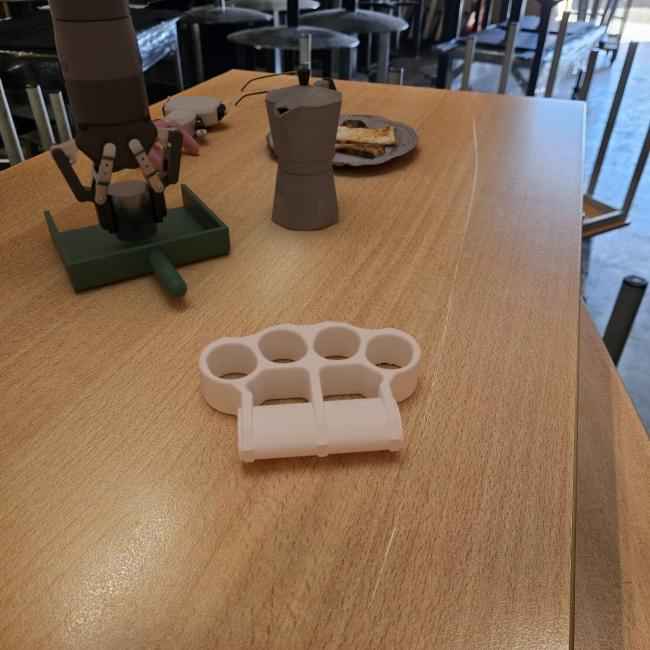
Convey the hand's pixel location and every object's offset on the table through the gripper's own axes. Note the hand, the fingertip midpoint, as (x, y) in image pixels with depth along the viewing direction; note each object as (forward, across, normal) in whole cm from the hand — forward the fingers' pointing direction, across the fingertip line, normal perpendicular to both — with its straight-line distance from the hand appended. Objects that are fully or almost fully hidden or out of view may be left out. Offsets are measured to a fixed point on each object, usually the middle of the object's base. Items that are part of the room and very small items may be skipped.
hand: (134, 225), depth 66 cm
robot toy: (+3, -20, -38) cm, 43 cm away
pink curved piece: (+3, -12, -26) cm, 29 cm away
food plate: (+3, -39, -17) cm, 43 cm away
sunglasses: (+3, -43, -51) cm, 67 cm away
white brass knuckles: (+3, -5, +33) cm, 33 cm away
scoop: (+3, 0, +4) cm, 5 cm away
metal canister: (+1, 0, 0) cm, 1 cm away
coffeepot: (+3, -22, +2) cm, 22 cm away
